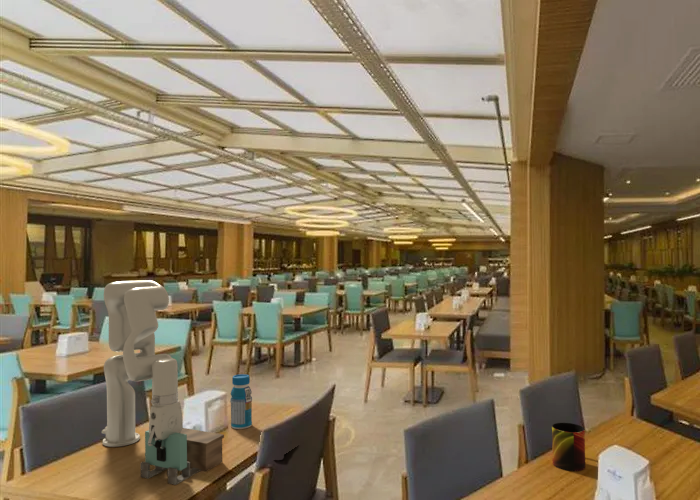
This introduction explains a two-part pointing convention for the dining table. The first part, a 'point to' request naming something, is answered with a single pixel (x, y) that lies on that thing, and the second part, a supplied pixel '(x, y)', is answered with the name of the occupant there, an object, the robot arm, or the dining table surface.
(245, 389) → the beverage bottle
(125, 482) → the dining table surface
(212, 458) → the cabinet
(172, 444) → the green rectangular block
